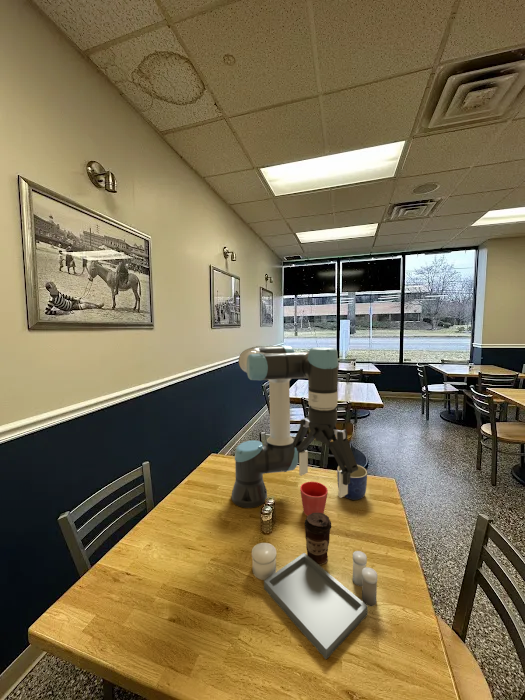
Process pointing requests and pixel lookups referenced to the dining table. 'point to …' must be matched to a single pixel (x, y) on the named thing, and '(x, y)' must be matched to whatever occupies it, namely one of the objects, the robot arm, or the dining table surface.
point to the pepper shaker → (369, 586)
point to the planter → (356, 483)
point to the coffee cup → (317, 536)
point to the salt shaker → (358, 566)
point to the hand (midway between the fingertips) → (321, 483)
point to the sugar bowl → (264, 560)
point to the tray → (316, 603)
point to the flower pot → (313, 497)
